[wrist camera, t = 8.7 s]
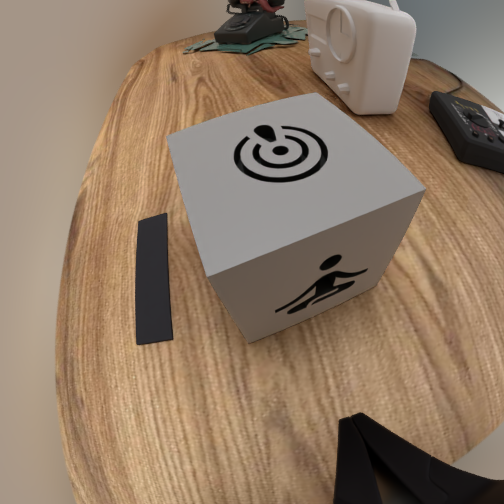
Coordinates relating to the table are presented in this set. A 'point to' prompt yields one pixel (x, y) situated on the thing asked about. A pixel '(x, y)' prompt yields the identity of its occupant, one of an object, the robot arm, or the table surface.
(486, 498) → the robot arm
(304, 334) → the table surface
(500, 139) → the multimeter
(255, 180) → the icon cube
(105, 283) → the table surface
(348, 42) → the radio
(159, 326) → the felt mark
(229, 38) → the telephone
